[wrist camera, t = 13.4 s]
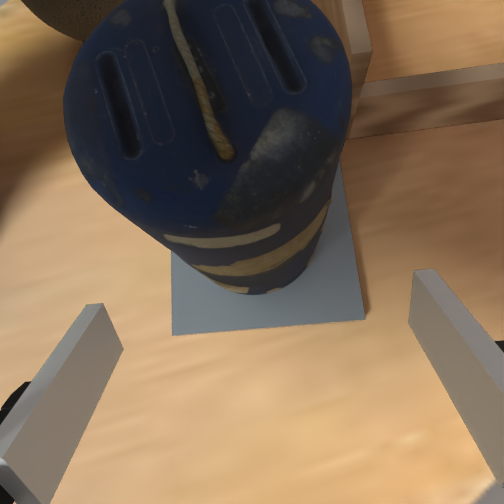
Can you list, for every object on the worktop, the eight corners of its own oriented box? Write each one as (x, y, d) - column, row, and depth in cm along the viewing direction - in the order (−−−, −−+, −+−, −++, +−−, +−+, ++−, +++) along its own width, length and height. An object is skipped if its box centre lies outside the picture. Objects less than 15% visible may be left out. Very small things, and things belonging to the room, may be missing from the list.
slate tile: (176, 335, 26) (171, 335, 25) (173, 171, 30) (169, 166, 29) (362, 320, 25) (365, 319, 24) (335, 151, 29) (337, 144, 28)
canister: (309, 174, 27) (339, -121, 10) (327, 291, 25) (410, 171, 7) (192, 190, 28) (32, -56, 11) (198, 305, 25) (1, 227, 8)
